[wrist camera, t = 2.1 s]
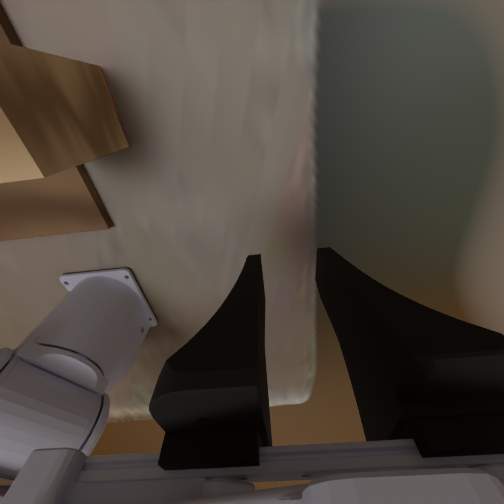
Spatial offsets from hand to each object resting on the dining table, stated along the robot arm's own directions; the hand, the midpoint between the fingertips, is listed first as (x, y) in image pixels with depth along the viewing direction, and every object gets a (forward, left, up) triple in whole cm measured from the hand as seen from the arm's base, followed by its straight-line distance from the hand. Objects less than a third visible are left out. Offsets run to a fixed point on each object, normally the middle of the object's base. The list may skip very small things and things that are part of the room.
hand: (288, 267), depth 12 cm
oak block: (+8, +13, -10) cm, 18 cm away
